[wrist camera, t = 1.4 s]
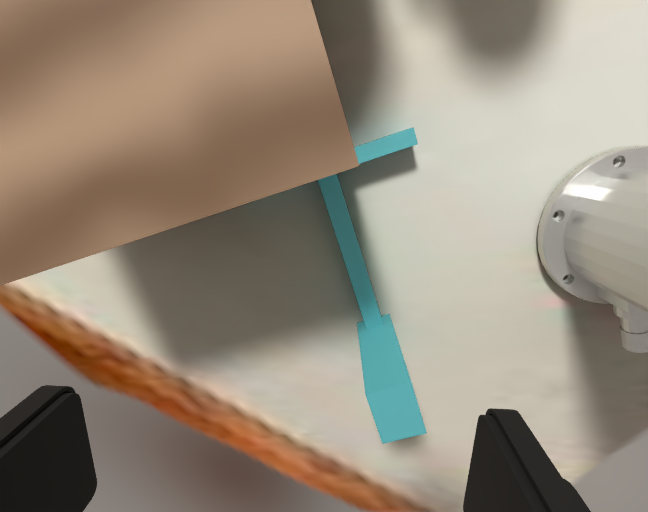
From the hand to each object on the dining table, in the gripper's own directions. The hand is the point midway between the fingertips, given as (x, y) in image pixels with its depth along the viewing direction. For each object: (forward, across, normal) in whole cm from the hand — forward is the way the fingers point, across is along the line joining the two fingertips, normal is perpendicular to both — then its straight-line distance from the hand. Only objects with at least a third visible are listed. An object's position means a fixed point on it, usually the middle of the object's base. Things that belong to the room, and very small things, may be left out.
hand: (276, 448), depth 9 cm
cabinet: (+23, +10, -9) cm, 27 cm away
